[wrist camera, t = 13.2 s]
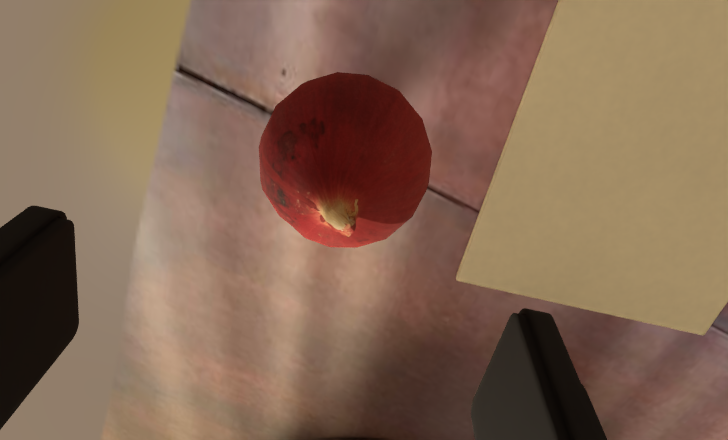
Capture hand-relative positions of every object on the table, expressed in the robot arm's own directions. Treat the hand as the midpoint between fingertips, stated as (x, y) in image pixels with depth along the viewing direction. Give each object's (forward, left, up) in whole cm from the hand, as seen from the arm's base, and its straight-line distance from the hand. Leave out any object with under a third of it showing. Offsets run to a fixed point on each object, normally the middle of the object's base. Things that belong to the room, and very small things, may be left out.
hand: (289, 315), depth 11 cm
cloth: (+12, +1, -12) cm, 17 cm away
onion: (0, 0, -12) cm, 12 cm away
